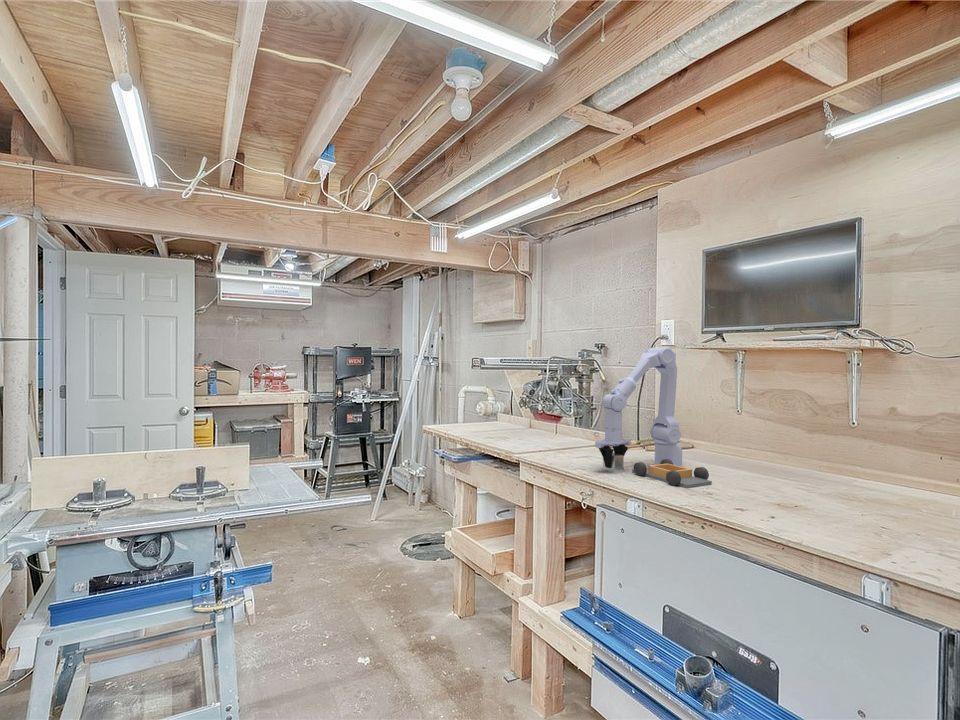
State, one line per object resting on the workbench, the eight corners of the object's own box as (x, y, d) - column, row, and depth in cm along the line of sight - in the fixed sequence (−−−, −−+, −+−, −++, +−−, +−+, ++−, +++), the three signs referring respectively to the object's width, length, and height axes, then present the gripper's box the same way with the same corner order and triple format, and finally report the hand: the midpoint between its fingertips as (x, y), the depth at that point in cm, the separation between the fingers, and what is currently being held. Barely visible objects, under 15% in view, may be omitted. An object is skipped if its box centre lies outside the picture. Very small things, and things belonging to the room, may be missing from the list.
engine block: (611, 468, 173) (611, 452, 173) (623, 472, 168) (623, 455, 168) (602, 469, 172) (602, 453, 172) (614, 473, 166) (614, 456, 166)
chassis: (658, 469, 173) (658, 456, 173) (715, 483, 153) (715, 469, 153) (628, 472, 167) (628, 460, 167) (683, 488, 147) (683, 474, 147)
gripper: (621, 425, 177) (620, 462, 177) (589, 427, 170) (589, 466, 170) (635, 428, 170) (634, 466, 170) (603, 430, 164) (602, 470, 164)
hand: (613, 466), depth 170 cm, fingers closed on engine block, 4 cm apart
